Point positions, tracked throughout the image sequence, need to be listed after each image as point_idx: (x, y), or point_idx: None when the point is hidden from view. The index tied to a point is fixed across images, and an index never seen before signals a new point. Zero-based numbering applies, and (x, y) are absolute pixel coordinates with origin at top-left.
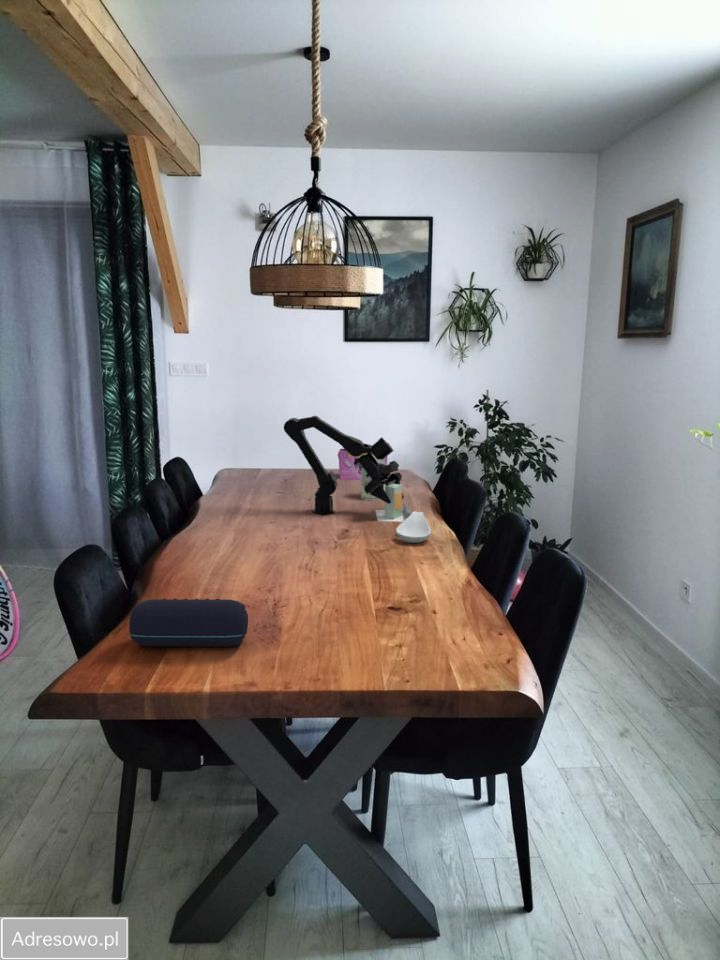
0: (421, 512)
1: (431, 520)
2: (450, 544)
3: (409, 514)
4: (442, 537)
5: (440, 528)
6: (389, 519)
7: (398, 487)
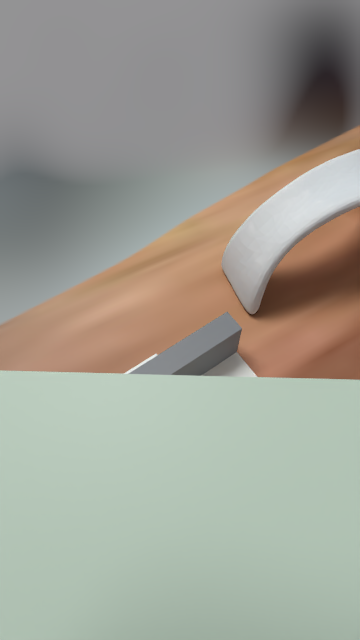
0: (339, 162)
1: (101, 292)
2: (356, 131)
3: (231, 322)
4: (308, 170)
5: (204, 217)
6: None
7: (178, 385)
